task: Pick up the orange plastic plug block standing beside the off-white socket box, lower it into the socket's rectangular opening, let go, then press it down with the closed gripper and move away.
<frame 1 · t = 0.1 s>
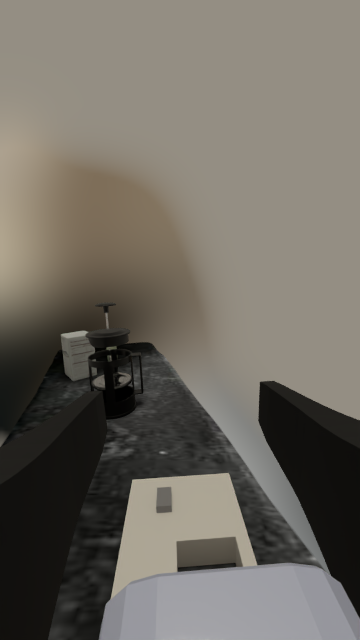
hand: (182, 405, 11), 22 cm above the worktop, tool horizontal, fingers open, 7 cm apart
supplement box: (81, 375, 75), on the worktop
french press: (117, 408, 55), on the worktop
socket: (186, 570, 24), on the worktop
handheld radio: (112, 362, 86), on the worktop
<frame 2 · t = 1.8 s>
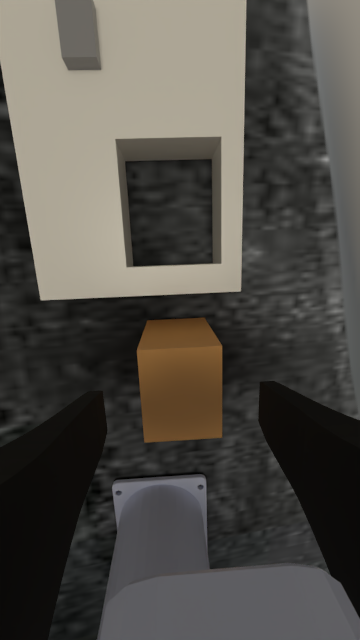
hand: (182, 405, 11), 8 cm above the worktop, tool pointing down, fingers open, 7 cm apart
plug: (176, 347, 19), on the worktop
socket: (137, 166, 16), on the worktop
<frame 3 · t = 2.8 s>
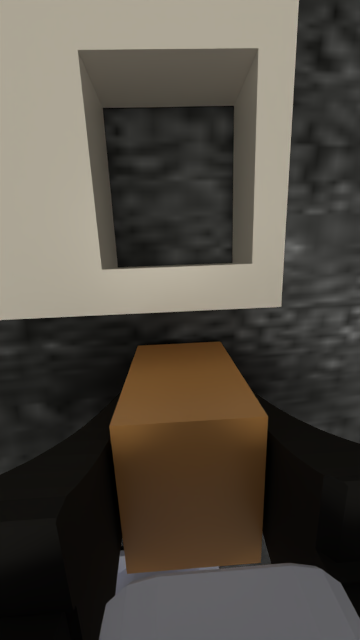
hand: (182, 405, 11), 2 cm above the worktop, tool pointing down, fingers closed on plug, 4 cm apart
plug: (180, 380, 14), on the worktop, touching gripper
socket: (122, 115, 11), on the worktop
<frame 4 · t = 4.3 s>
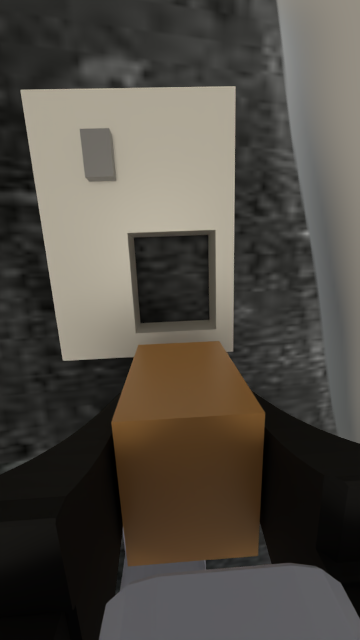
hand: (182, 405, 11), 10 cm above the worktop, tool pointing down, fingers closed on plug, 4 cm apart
plug: (179, 379, 14), point 7 cm above the worktop, touching gripper
socket: (144, 241, 19), on the worktop
when the fingers open (4 cm above the worktop, at t = 6.1 s): plug drops 1 cm, resting in socket.
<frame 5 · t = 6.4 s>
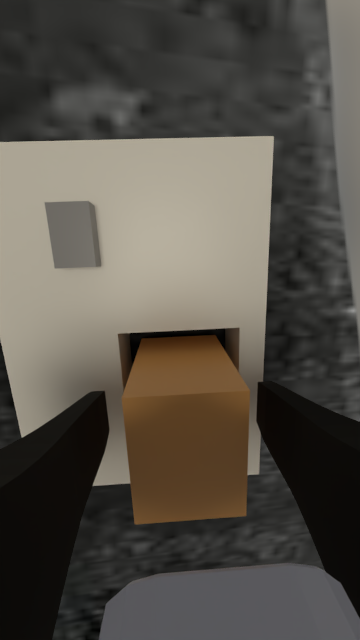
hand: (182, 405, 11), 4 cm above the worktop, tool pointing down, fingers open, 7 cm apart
plug: (179, 371, 15), resting in socket
socket: (142, 322, 14), on the worktop
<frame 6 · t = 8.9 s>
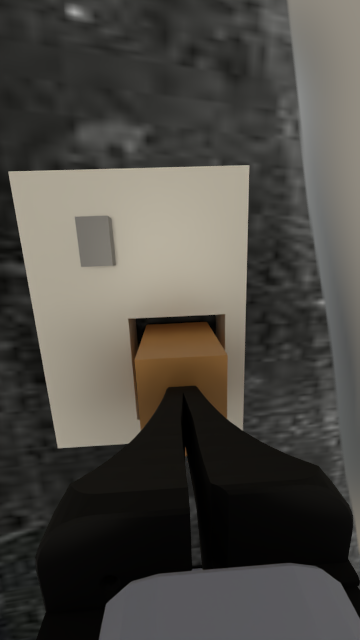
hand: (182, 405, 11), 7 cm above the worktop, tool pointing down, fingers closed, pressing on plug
plug: (177, 353, 18), resting in socket, touching gripper
socket: (146, 312, 17), on the worktop
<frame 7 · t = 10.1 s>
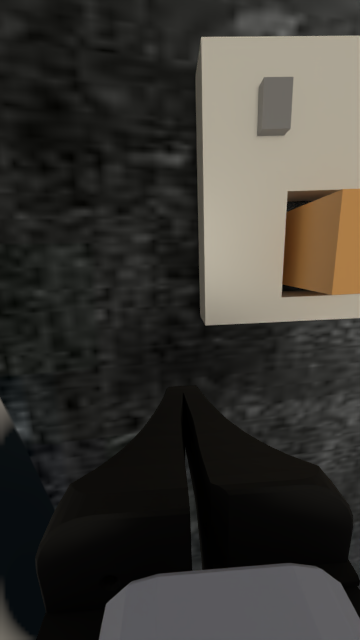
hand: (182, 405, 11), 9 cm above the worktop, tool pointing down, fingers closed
plug: (302, 249, 19), resting in socket
socket: (279, 206, 18), on the worktop
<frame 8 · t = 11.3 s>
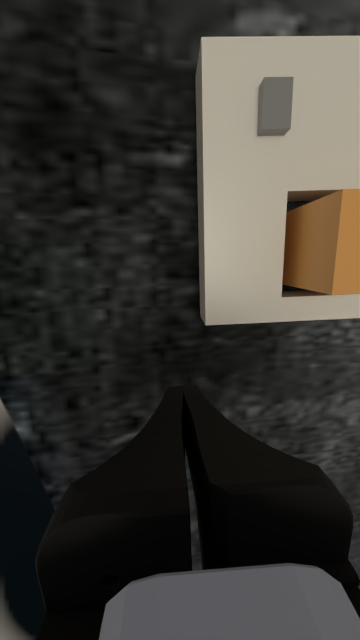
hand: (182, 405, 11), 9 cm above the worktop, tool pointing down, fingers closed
plug: (302, 249, 19), resting in socket
socket: (279, 206, 18), on the worktop
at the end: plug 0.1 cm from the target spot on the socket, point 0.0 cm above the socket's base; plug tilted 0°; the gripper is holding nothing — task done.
